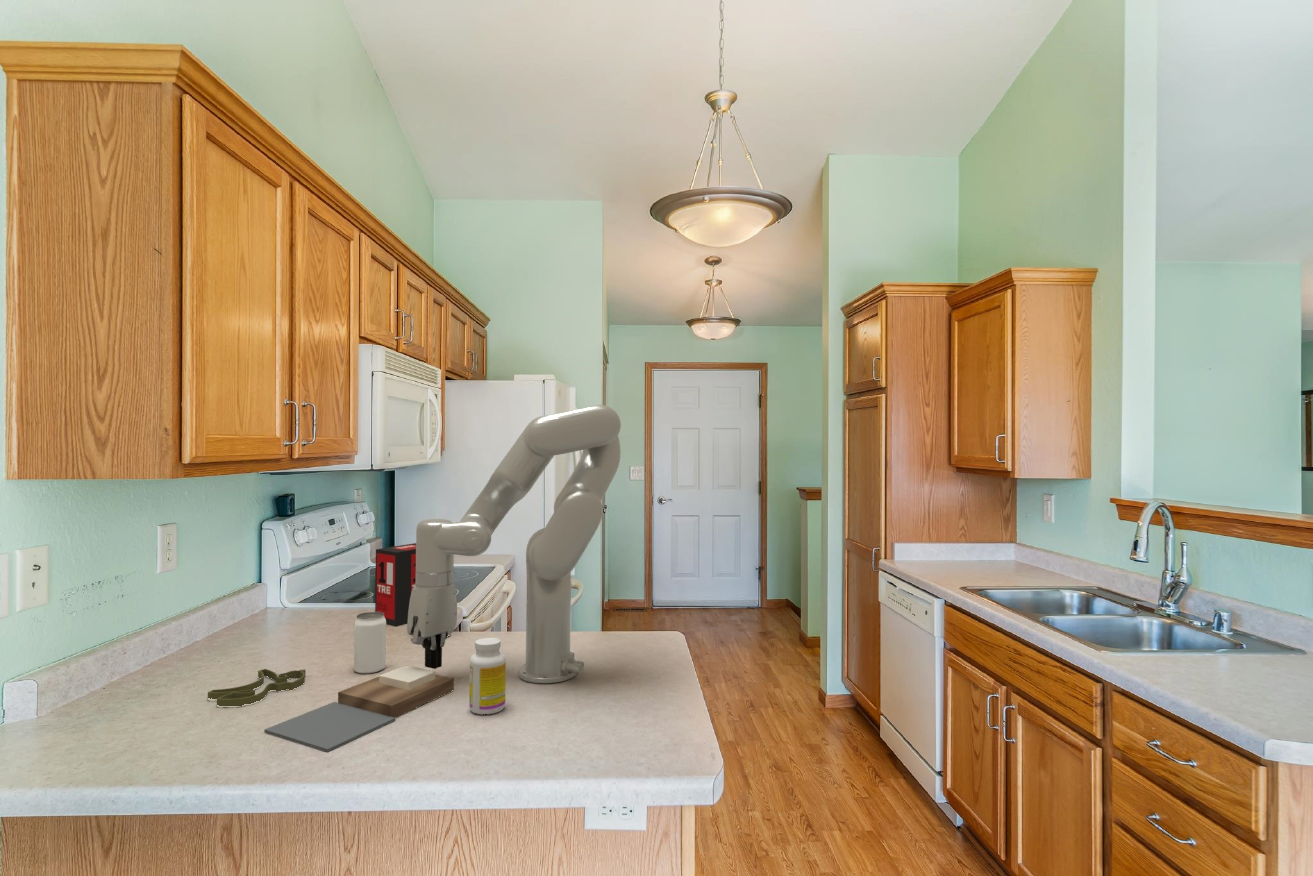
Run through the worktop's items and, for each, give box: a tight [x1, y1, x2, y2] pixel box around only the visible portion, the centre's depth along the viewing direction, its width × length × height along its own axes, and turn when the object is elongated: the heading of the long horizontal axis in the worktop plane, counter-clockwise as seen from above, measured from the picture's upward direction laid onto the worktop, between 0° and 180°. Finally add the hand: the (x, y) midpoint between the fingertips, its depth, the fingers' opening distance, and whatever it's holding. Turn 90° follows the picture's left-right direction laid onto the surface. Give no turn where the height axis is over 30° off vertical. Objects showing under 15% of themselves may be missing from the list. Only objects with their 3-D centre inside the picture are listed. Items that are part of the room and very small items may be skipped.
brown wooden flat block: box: [337, 674, 455, 719], centre depth 135 cm, size 14×16×2 cm
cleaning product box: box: [374, 542, 416, 628], centre depth 194 cm, size 16×9×20 cm, turn 149°
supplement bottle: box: [468, 637, 507, 715], centre depth 130 cm, size 7×7×13 cm
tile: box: [378, 665, 437, 690], centre depth 137 cm, size 8×7×2 cm
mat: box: [263, 701, 396, 753], centre depth 121 cm, size 16×14×1 cm
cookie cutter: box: [207, 668, 307, 706], centre depth 138 cm, size 18×12×2 cm, turn 166°
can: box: [353, 611, 387, 675], centre depth 151 cm, size 6×6×12 cm
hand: (433, 666), depth 143 cm, fingers closed
